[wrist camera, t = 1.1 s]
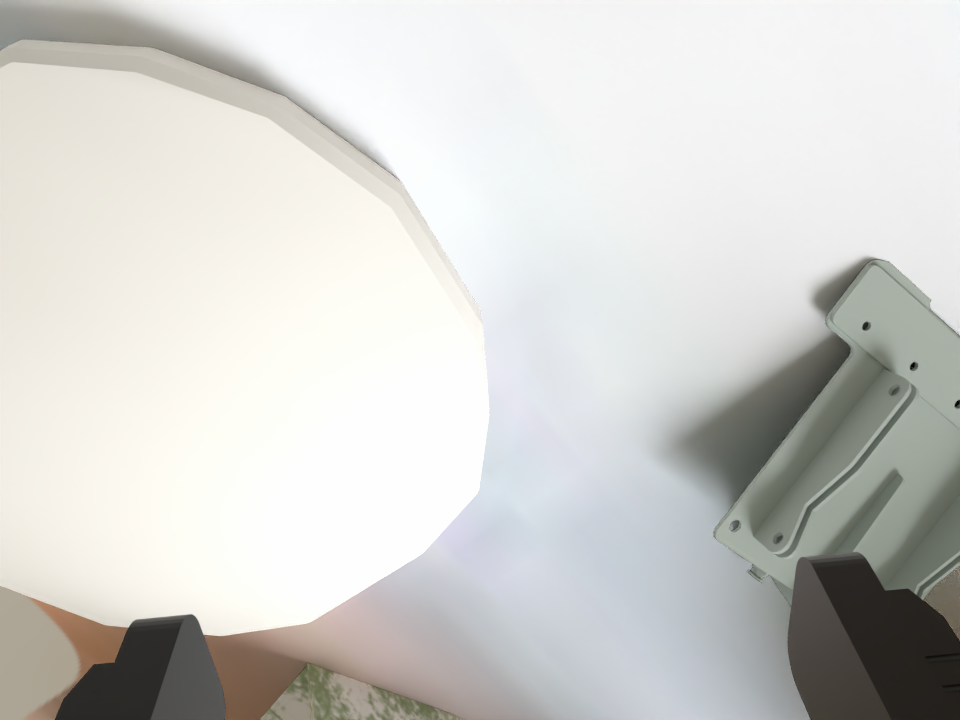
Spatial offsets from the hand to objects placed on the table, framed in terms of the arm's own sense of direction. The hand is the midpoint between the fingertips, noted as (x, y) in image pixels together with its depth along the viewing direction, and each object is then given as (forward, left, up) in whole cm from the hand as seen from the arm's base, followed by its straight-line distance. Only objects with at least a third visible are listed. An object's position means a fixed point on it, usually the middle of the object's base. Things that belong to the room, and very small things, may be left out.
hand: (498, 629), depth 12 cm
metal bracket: (-3, +22, -23) cm, 32 cm away
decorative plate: (+15, -1, -23) cm, 27 cm away
